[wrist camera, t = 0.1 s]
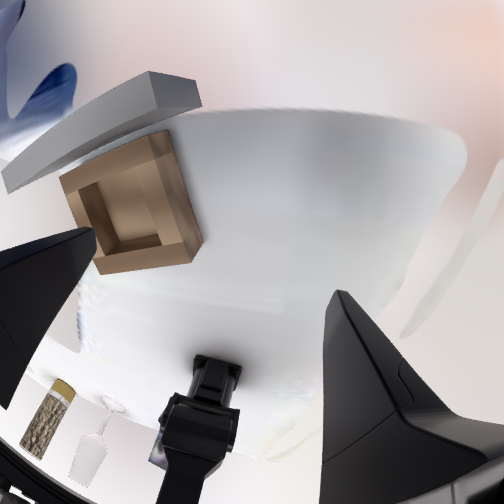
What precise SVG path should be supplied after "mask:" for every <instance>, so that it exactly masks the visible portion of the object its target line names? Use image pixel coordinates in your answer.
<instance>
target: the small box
mask: <svg viewBox="0 0 504 504" xmlns="http://www.w3.org/2000/svg"><path fill="white" fill-rule="evenodd" d="M162 435H163V434H161V433H160V431H159V434H158V436H157V439H156V441H155V444H154V447H153V449H152V452H151V454H150V457H149V460H148V461H149V462H151V463H153V464H155V465H157V466H158V467H160V468H162V469H164V470H167V467H168V464H167V461H166V457H165V454H164V450H163V446H162V442H161V438H162Z"/></svg>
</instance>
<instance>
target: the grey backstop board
mask: <svg viewBox="0 0 504 504" xmlns="http://www.w3.org/2000/svg"><path fill="white" fill-rule="evenodd" d="M199 107H202V103H201V100H200V96H199V92H198V89H197V85H196V81H195V80H191V79H186V78H182V77H177V76H172V75H167V74H162V73H157V72H151V71H147V72H145V73H143V74H140V75H139V76H136V77H134V78H132V79H130V80H128V81H126V82H124V83H122V84H121V85H119V86H117V87H115V88H113V89H111V90H110V91H108V92H106V93H104V94H102V95H101V96H99V97H97V98H96V99H94V100H92V101H91V102H89V103H88V104H86V105H84V106H83V107H81V108H80V109H78V110H77V111H75V112H74V113H72V114H71V115H69V116H68V117H66V118H65V119H63V120H62V121H61V122H59V123H58V124H56V125H55V126H54V127H52V128H51V129H50V130H48V131H47V132H46V133H44V134H43V135H42V136H41V137H39V138H38V139H37V140H36V141H34V142H33V143H32V144H31V145H30V146H28V147H27V148H26V149H25V150H24V151H23V152H22V153H20V154H19V155H18V156H17V157H16V158H15V159H14V160H13V161H12V162H10V163H9V164H8V165H7V166H6V167H5V168H4V169H3V170H2V171H1V173H2V176H3V180H4V182H5V186H6V189H7V192H8V194H10V193H12V192H13V191H15V190H17V189H19V188H21V187H23V186H25V185H27V184H29V183H31V182H33V181H35V180H37V179H39V178H41V177H43V176H45V175H48V174H50V173H52V172H54V171H56V170H59V169H61V168H63V167H64V166H66V165H68V164H70V163H71V162H73V161H75V160H77V159H79V158H80V157H82V156H84V155H86V154H88V153H90V152H92V151H94V150H96V149H98V148H100V147H102V146H104V145H106V144H108V143H110V142H112V141H114V140H116V139H119V138H121V137H123V136H125V135H127V134H130V133H132V132H134V131H137V130H139V129H141V128H144V127H146V126H149V125H151V124H154V123H156V122H159V121H162V120H164V119H167V118H170V117H173V116H175V115H178V114H181V113H184V112H187V111H190V110H193V109H196V108H199Z"/></svg>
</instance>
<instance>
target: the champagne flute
mask: <svg viewBox="0 0 504 504" xmlns="http://www.w3.org/2000/svg"><path fill="white" fill-rule="evenodd" d="M102 400H103V402H104V403H105V405H106V406H107V408H108V411H107V413H106V415H105V417H104V419H103V421H102V424H101V426H100V428H99V430H98V432H97V434H90V435H86V436H83V437H82V438H81V439H80V442H79V445H78V448H77V451H76V454H75V457H74V460H73V464H72V467H71V470H70V473H69V476H68V477H69V478H71V479H73V480H75V481H76V482H78V483H80V484H82V485H84V486H85V487H87V488H88V486H89V485H90V483H91V481H92V479H93V477H94V475H95V474H96V472H97V470H98V468H99V466H100V465H101V463H102V461H103V460H104V458H105V456H106V454H107V449H106V446H105V443H104V441H103V439H102V438H101V435H102V433H103V431H104V429H105V427H106V424H107V422H108V420H109V418H110V416H111V414H112V412H125V411H126V410H125V408H124V407H123V406H122V405H120V404H119V403H117V402H116V401H114V400H112V399H110V398H108V397H102Z"/></svg>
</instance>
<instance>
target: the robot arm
mask: <svg viewBox="0 0 504 504" xmlns="http://www.w3.org/2000/svg"><path fill="white" fill-rule="evenodd" d="M96 251H97V242H96V233H95V230H94V229H93V228H90V227H87V226H85V227H81V228H77V229H73V230H70V231H66V232H62V233H59V234H55V235H52V236H49V237H45V238H41V239H38V240H35V241H31V242H28V243H25V244H22V245H19V246H15V247H12V248H11V249H10V248H9V249H6V250H3V251H0V405H1V406H2V407H3V408H4V409H5V410H7V408H8V407H9V404H10V402H11V400H12V397H13V395H14V393H15V391H16V389H17V386H18V384H19V382H20V380H21V378H22V376H23V374H24V372H25V370H26V368H27V365H28V364H29V362H30V360H31V358H32V356H33V354H34V353H35V351H36V349H37V347H38V345H39V344H40V342H41V340H42V338H43V337H44V335H45V333H46V332H47V330H48V328H49V327H50V325H51V323H52V321H53V320H54V319H55V317H56V315H57V314H58V312H59V311H60V309H61V307H62V306H63V304H64V303H65V301H66V300H67V298H68V297H69V295H70V294H71V292H72V291H73V290H74V288H75V287H76V285H77V284H78V282H79V281H80V279H81V277H82V275H83V274H84V272H85V270H86V269H87V267H88V265H89V263H90V262H91V260H92V259H93V257H94V255H95V254H96ZM241 370H242V368H241V367H240V366H237V365H233V364H229V363H225V362H221V361H217V360H213V359H210V358H206V357H202V356H199V355H196V356H195V358H194V367H193V380H192V383H191V386H190V389H189V392H188V395H187V396H183V395H180V394H179V393H176V392H175V393H174V395H173V397H170V399H169V402H168V405H167V407H166V408H165V410H164V411H163V413H162V414H161V416H160V417H159V420H158V421H159V423H160V433H161V434H163V435H162V438H161V442H162V446H163V450H164V454H165V457H166V461H167V464H168V467H167V470H166V473H165V476H164V480H163V483H162V486H161V489H160V492H159V495H158V498H157V502H156V504H198V502H199V498H200V494H201V490H202V486H203V482H204V480H205V479H206V478H208V477H209V476H210V475H211V474H212V473H214V472H215V471H216V470H217V469H218V468H219V467H220V466H221V464H222V462H223V460H224V458H225V455H226V452H230V453H231V452H232V449H233V446H234V442H235V438H236V433H237V427H238V420H239V414H240V409H232V408H229V406H230V402H231V397H232V393H233V391H235V389H236V386H237V383H238V380H239V377H240V374H241ZM323 389H324V390H323V393H324V394H323V395H324V406H323V407H324V408H323V409H324V411H323V452H322V470H321V484H320V498H319V504H504V425H501V424H495V423H488V422H483V421H478V420H472V419H467V418H463V417H461V416H459V415H457V414H455V413H454V412H452V411H451V410H450V409H449V408H448V407H447V406H446V405H445V404H444V403H443V401H441V399H440V398H439V397H438V396H437V395H436V394H435V393H434V392H433V391H432V389H430V387H428V385H427V384H426V383H425V382H424V381H423V380H422V379H421V377H420V376H419V375H418V374H417V373H416V372H415V371H414V370H413V368H412V367H411V366H410V365H409V364H408V362H407V361H406V360H405V359H404V358H402V355H401V354H400V352H399V351H398V350H397V349H396V348H395V346H394V345H393V344H392V343H391V342H390V340H389V339H388V338H387V337H386V336H385V335H384V333H383V332H382V331H381V330H380V328H379V327H378V326H377V325H376V324H375V323H374V321H373V320H372V319H371V318H370V317H369V316H368V315H367V313H366V312H365V311H364V310H363V309H362V308H361V306H360V305H359V304H358V303H357V302H356V301H355V300H354V299H353V297H352V296H351V295H350V294H349V293H348V292H347V291H342V290H336V291H335V292H334V294H333V296H332V298H331V300H330V302H329V304H328V306H327V309H326V314H325V329H324V341H323ZM11 485H12V486H13V487H15V488H17V489H18V490H20V491H22V494H23V495H24V496H25V497H27V498H29V499H32V500H33V501H35V504H97V503H95V502H93V501H90V500H89V499H87V498H85V497H83V496H82V495H80V494H78V493H76V492H74V491H73V490H71V489H69V488H68V487H66V486H64V485H63V484H61V483H60V482H58V481H57V480H55V479H54V478H52V477H51V476H49V475H48V474H46V473H45V472H43V471H42V470H41V469H39V468H38V467H36V466H35V465H34V464H32V463H31V462H30V461H29V460H27V459H26V458H25V457H23V456H22V455H21V454H20V453H19V452H17V451H16V450H15V449H14V448H13V447H11V446H10V445H9V444H8V443H7V442H5V440H3V439H2V438H1V437H0V504H31V503H29V502H28V501H27V500H25V499H23V498H21V497H19V496H17V495H15V494H13V493H10V492H9V490H10V487H11Z"/></svg>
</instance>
